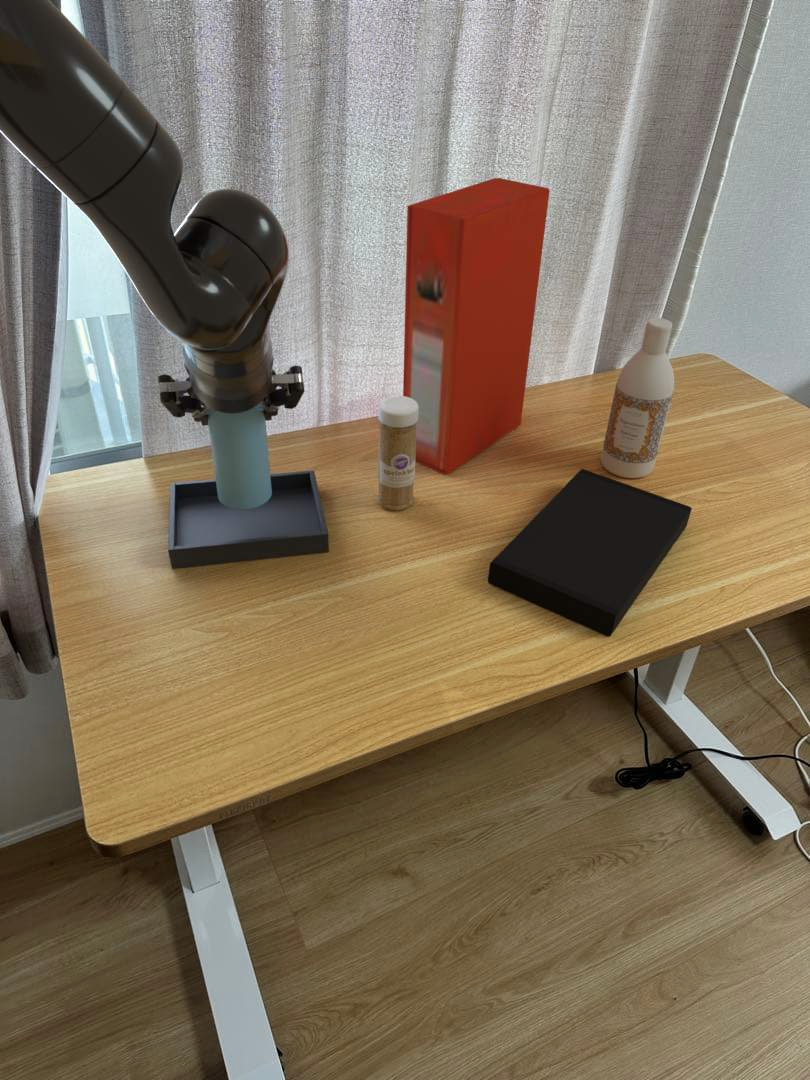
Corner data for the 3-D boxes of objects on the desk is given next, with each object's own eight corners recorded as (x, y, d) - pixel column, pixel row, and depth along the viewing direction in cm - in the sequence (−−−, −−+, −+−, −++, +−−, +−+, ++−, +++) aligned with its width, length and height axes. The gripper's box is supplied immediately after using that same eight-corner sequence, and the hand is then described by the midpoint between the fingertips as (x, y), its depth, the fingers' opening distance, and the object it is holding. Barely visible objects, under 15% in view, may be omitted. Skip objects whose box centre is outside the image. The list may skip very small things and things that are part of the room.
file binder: (399, 454, 108) (407, 204, 88) (473, 408, 119) (495, 176, 99) (448, 476, 104) (467, 219, 84) (520, 426, 115) (552, 189, 95)
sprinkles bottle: (387, 515, 97) (389, 416, 88) (370, 496, 100) (371, 398, 91) (420, 506, 98) (426, 408, 90) (403, 487, 101) (407, 390, 93)
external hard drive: (487, 582, 87) (490, 561, 85) (577, 487, 103) (581, 467, 101) (610, 637, 81) (616, 615, 79) (686, 527, 96) (692, 507, 95)
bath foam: (592, 470, 106) (622, 325, 94) (609, 447, 111) (639, 306, 99) (644, 485, 103) (681, 338, 91) (659, 461, 108) (696, 319, 96)
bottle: (218, 511, 88) (198, 360, 78) (217, 482, 93) (197, 336, 82) (274, 506, 89) (261, 356, 79) (269, 477, 94) (256, 332, 83)
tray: (171, 569, 87) (168, 550, 86) (173, 500, 98) (170, 482, 96) (329, 552, 91) (328, 533, 89) (314, 487, 101) (314, 470, 99)
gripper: (306, 312, 72) (298, 376, 89) (140, 321, 70) (164, 385, 86) (315, 393, 71) (306, 442, 88) (148, 405, 69) (170, 453, 85)
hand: (235, 414), depth 87 cm, fingers closed on bottle, 6 cm apart
